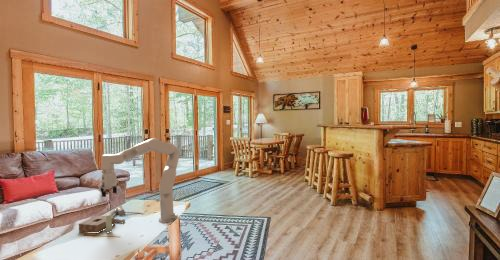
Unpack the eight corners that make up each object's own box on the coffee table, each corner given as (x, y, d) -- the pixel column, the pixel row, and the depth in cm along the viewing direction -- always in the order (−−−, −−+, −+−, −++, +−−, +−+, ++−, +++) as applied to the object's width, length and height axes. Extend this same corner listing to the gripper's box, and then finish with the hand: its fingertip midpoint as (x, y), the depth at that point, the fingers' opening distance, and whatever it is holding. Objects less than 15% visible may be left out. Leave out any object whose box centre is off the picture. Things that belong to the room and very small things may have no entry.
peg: (113, 231, 182) (112, 214, 181) (109, 233, 178) (108, 216, 178) (109, 230, 182) (108, 214, 182) (105, 233, 179) (104, 216, 179)
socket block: (115, 224, 193) (114, 216, 193) (97, 233, 178) (97, 225, 178) (97, 223, 197) (97, 215, 197) (79, 232, 182) (78, 223, 182)
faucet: (149, 213, 223) (134, 226, 195) (117, 210, 223) (97, 223, 196) (149, 207, 223) (134, 219, 195) (117, 205, 223) (98, 217, 195)
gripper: (102, 173, 177) (103, 198, 177) (121, 169, 193) (122, 191, 194) (94, 173, 179) (95, 197, 179) (113, 169, 195) (114, 191, 196)
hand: (109, 194), depth 187 cm, fingers open, 9 cm apart
